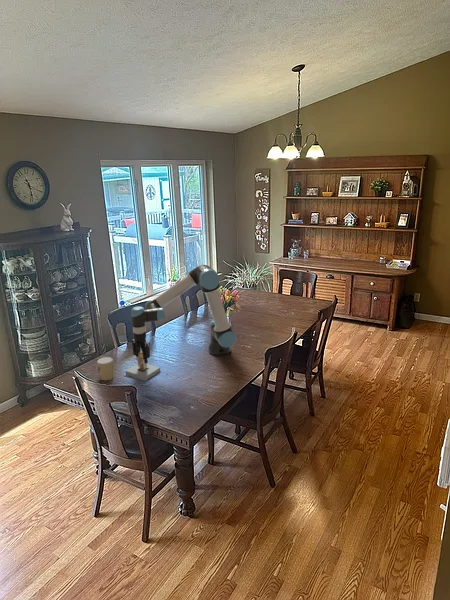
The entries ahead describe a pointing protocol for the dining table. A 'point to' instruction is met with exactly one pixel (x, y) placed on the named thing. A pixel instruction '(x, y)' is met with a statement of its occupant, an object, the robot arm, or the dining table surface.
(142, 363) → the beech peg
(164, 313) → the robot arm
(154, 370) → the board
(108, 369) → the coffee cup
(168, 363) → the dining table surface
